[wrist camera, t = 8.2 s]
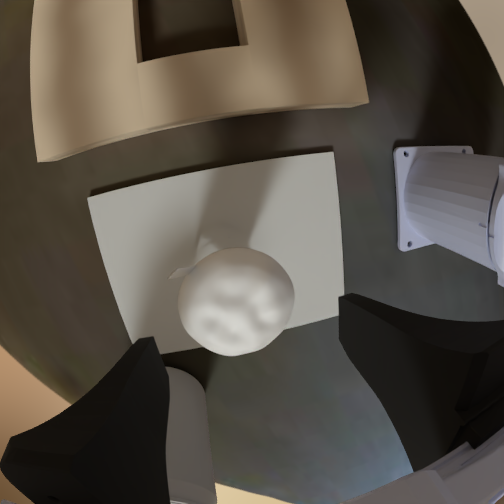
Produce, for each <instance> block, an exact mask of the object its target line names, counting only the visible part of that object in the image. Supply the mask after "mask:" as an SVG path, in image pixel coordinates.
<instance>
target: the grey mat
mask: <svg viewBox="0 0 504 504" xmlns="http://www.w3.org/2000/svg"><path fill="white" fill-rule="evenodd" d="M87 199H88V204H89V208H90V212H91V217H92V221H93V225H94V229H95V233H96V236H97V240H98V244H99V247H100V251H101V254H102V258H103V261H104V265H105V268H106V271H107V274H108V277H109V281H110V284H111V287H112V290H113V293H114V296H115V299H116V302H117V304H118V307H119V310H120V313H121V315H122V318H123V321H124V324H125V326H126V329H127V331H128V334H129V336H130V339H131V341H132V344H134V343H135V342H136V341H137V340H138V339H139V338H144V337H151V336H154V339H155V342H156V344H157V347H158V350H159V352H160V354H165V353H171V352H177V351H183V350H189V349H195V348H200V347H203V346H202V345H201V344H199V343H198V342H197V341H196V340H194V339H193V338H192V337H191V336H190V335H189V334H188V333H187V331H186V330H185V328H184V326H183V324H182V322H181V319H180V315H179V311H178V295H179V290H180V287H181V285H182V282H183V280H184V277H185V276H181V277H177V278H173V279H169V280H167V278H168V277H169V276H170V274H171V273H172V272H173V271H174V270H175V269H177V268H183V267H189V264H190V260H191V257H192V253H193V250H194V246H195V244H196V242H197V240H198V238H199V236H200V233H201V232H202V231H203V230H205V229H207V228H209V227H211V226H212V225H214V224H223V225H232V226H233V227H234V228H236V229H237V230H238V231H239V232H240V233H241V234H242V235H243V236H244V237H245V238H246V239H247V240H249V241H250V242H251V243H253V244H254V245H256V246H257V247H258V248H260V249H261V250H262V251H264V252H265V253H266V254H268V255H269V256H270V257H272V258H273V259H274V260H276V261H277V262H278V263H279V264H280V265H281V266H282V267H283V268H284V270H285V271H286V272H287V274H288V275H289V277H290V279H291V281H292V284H293V287H294V293H295V299H294V306H293V310H292V313H291V316H290V319H289V321H288V323H287V325H286V326H285V328H284V329H288V328H292V327H296V326H300V325H304V324H308V323H312V322H316V321H319V320H323V319H327V318H330V317H334V316H337V315H339V307H338V297H339V296H343V295H344V273H343V252H342V236H341V222H340V210H339V198H338V188H337V179H336V170H335V161H334V153H333V152H325V153H315V154H307V155H298V156H290V157H283V158H275V159H268V160H261V161H255V162H248V163H242V164H236V165H230V166H224V167H219V168H213V169H208V170H203V171H197V172H192V173H187V174H182V175H178V176H173V177H168V178H164V179H159V180H155V181H150V182H146V183H142V184H138V185H134V186H130V187H126V188H122V189H118V190H114V191H110V192H106V193H103V194H99V195H95V196H92V197H88V198H87ZM284 329H283V330H284Z"/></svg>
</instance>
